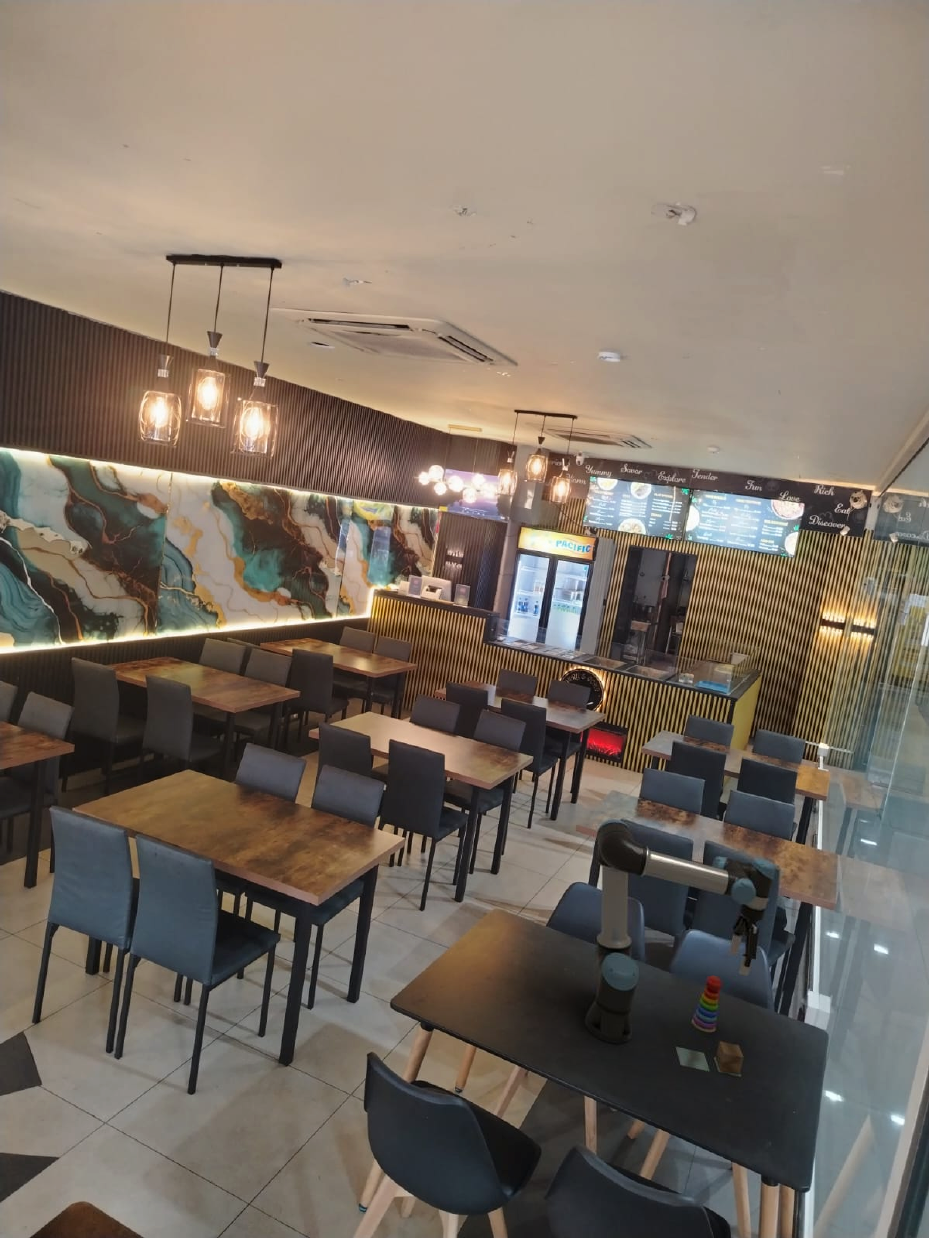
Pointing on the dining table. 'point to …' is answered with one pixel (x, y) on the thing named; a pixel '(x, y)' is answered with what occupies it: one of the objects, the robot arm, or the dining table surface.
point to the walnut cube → (729, 1058)
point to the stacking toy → (708, 1006)
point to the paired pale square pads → (695, 1060)
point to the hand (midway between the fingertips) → (738, 963)
